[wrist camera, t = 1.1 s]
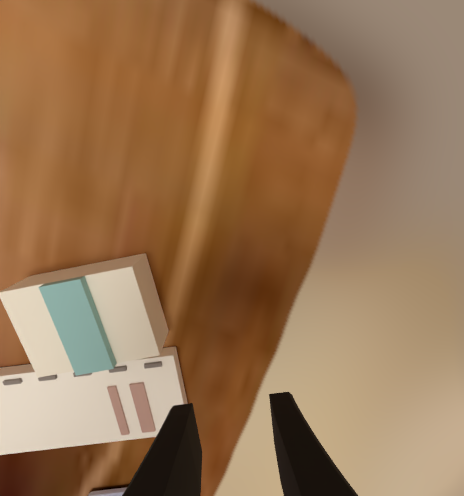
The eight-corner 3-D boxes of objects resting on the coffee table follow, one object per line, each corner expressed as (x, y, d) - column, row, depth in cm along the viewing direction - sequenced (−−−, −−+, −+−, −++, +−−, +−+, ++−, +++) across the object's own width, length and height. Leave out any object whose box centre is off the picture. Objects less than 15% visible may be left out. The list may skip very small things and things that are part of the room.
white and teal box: (169, 328, 20) (157, 360, 16) (64, 348, 20) (32, 383, 17) (146, 251, 18) (128, 269, 15) (33, 274, 18) (-10, 296, 15)
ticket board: (191, 421, 22) (189, 435, 21) (-29, 447, 22) (-43, 462, 21) (175, 346, 20) (172, 357, 19) (-65, 375, 20) (-83, 387, 19)
